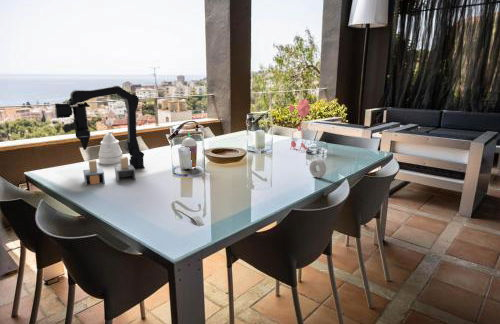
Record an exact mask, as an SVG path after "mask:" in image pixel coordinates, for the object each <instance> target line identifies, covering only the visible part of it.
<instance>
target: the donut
mask: <svg viewBox="0 0 500 324" xmlns="http://www.w3.org/2000/svg"><path fill="white" fill-rule="evenodd" d="M308 167H309V172H310V175H311V176H313V177H314V178H316V177H317V178H316V179H321V178H323V177H324V176H325V174H326V173H327V166H326V164H325V161H324V160H322V159H321V158H316V157H315V158H313V159H312V160H311V161H310V163H309V165H308ZM317 167H318V169H319V170H317Z"/></svg>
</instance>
